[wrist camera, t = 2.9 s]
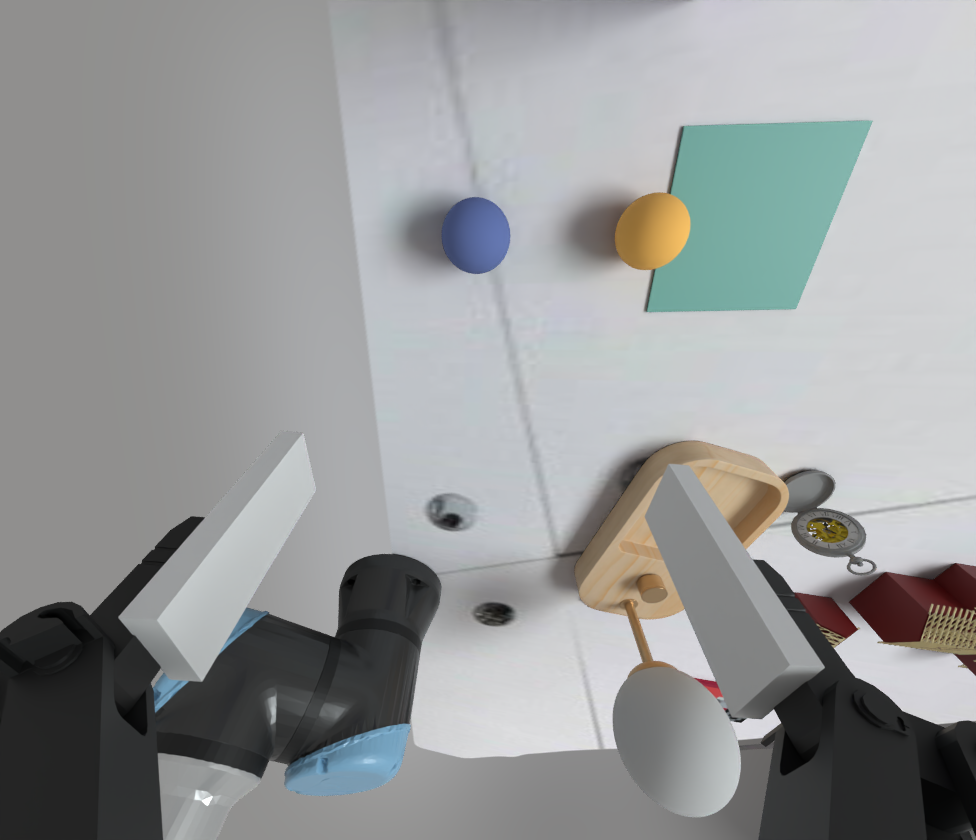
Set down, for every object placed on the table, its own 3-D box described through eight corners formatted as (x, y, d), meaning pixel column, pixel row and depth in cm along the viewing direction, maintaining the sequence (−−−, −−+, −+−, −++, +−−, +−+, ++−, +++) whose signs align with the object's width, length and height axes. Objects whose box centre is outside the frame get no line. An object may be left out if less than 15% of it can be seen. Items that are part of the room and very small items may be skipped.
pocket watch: (806, 459, 45) (881, 522, 36) (849, 486, 47) (929, 551, 38) (750, 502, 48) (806, 569, 40) (793, 525, 50) (854, 593, 42)
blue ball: (448, 268, 34) (441, 280, 29) (442, 197, 31) (434, 198, 26) (508, 267, 33) (511, 278, 29) (509, 196, 31) (512, 196, 26)
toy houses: (1092, 585, 57) (1199, 654, 49) (974, 652, 68) (1045, 719, 59) (837, 541, 52) (906, 609, 44) (753, 621, 63) (795, 688, 54)
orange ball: (602, 265, 33) (621, 276, 29) (612, 193, 30) (634, 193, 26) (664, 263, 33) (692, 275, 28) (679, 191, 30) (714, 191, 26)
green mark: (646, 311, 35) (647, 311, 35) (683, 126, 28) (684, 126, 28) (794, 308, 35) (795, 308, 35) (870, 121, 28) (872, 120, 28)
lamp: (664, 429, 43) (842, 670, 21) (789, 465, 45) (1060, 712, 24) (553, 594, 59) (589, 824, 38) (649, 614, 62) (734, 839, 40)
